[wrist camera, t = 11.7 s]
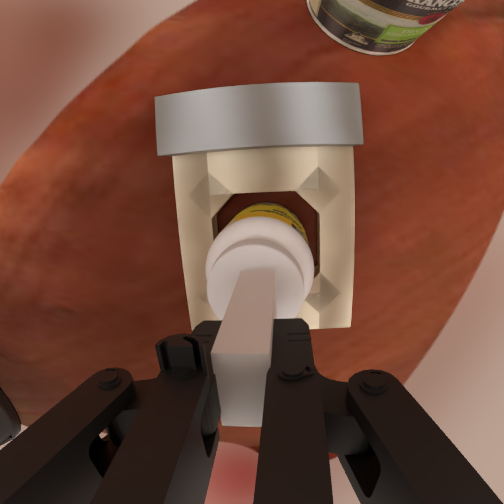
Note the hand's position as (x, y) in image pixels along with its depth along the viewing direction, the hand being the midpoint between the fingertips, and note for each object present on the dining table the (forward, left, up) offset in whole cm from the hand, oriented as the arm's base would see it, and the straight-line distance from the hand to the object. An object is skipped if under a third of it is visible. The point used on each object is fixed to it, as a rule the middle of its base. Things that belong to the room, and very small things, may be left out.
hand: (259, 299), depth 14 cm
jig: (0, +2, -12) cm, 12 cm away
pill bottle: (0, 0, -12) cm, 12 cm away
